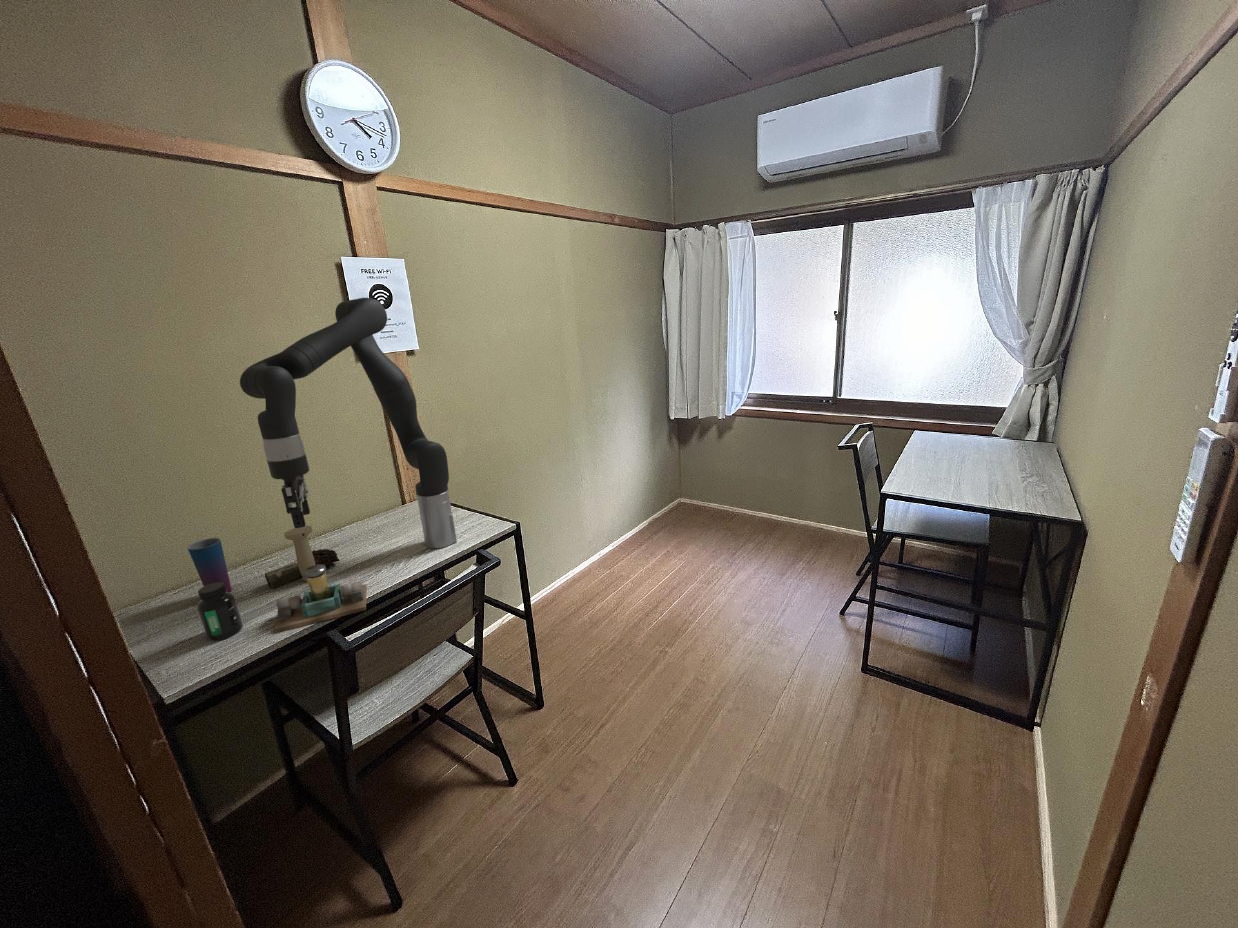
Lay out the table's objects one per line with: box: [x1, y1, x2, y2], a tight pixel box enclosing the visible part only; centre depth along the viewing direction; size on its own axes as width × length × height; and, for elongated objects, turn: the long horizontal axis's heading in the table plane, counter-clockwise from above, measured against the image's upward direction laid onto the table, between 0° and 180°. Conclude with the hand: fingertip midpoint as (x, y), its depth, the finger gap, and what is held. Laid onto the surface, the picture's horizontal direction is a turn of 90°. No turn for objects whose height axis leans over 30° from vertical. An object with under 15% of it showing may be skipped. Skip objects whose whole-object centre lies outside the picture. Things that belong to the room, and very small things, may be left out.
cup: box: [187, 537, 232, 593], centre depth 133 cm, size 7×7×15 cm
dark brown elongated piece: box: [264, 548, 340, 590], centre depth 143 cm, size 18×7×6 cm, turn 136°
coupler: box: [304, 564, 332, 602], centre depth 124 cm, size 5×5×10 cm
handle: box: [283, 524, 315, 583], centre depth 138 cm, size 5×6×15 cm
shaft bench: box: [274, 580, 368, 633], centre depth 125 cm, size 19×12×5 cm, turn 115°
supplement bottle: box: [196, 582, 244, 642], centre depth 116 cm, size 7×7×12 cm
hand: (302, 520), depth 119 cm, fingers open, 8 cm apart
